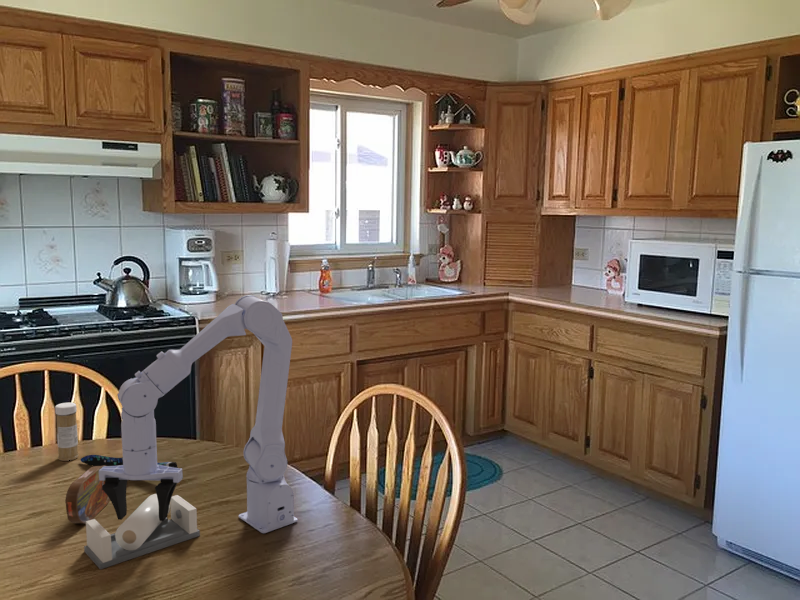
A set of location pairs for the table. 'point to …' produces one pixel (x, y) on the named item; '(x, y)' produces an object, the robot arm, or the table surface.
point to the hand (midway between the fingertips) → (142, 517)
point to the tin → (86, 496)
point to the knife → (114, 461)
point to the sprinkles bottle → (67, 431)
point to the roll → (139, 524)
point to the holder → (166, 534)
